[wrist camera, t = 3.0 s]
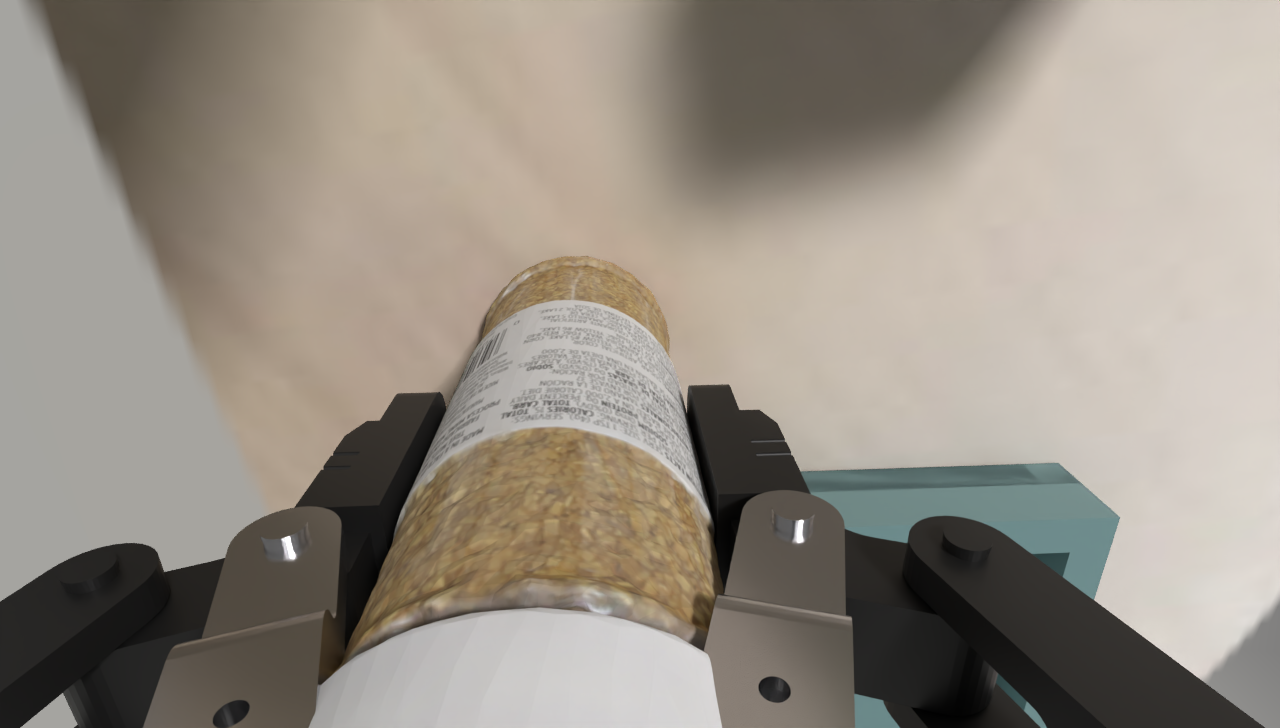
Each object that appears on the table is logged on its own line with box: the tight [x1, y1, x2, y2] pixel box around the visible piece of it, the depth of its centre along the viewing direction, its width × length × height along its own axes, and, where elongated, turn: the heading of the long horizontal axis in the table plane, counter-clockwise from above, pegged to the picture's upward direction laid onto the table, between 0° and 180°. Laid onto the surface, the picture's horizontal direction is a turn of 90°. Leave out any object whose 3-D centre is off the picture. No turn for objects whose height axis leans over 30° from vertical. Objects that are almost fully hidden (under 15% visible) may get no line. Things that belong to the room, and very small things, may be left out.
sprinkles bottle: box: [309, 256, 724, 728], centre depth 11 cm, size 5×5×13 cm
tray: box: [801, 463, 1120, 728], centre depth 20 cm, size 12×10×2 cm
